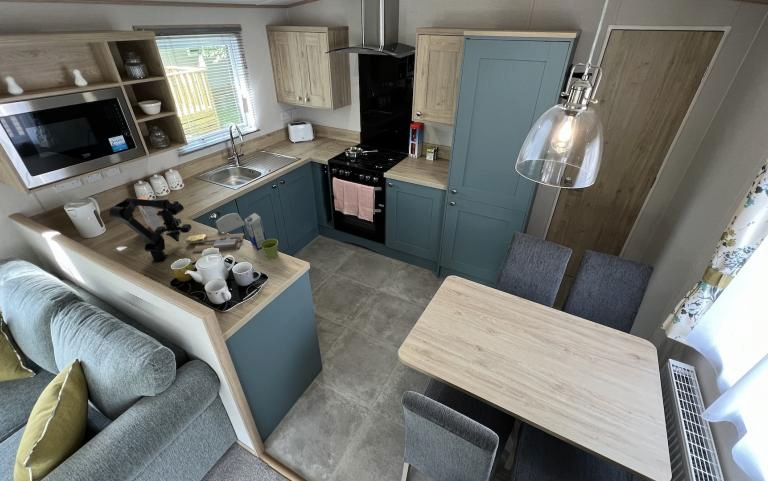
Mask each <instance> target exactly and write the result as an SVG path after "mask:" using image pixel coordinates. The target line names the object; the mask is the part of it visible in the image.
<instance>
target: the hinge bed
mask: <svg viewBox="0 0 768 481" xmlns="http://www.w3.org/2000/svg"><path fill="white" fill-rule="evenodd" d="M206 236H207V235H206ZM244 236H245V233H233V234H232V233H231V234H220V235H209V236H207V238H206V240H204V241H197V242H198V243H196V245H195V247H194V249H193V250H192V254H197V253H198V254H199V253H203V252H202V251H203V250H204V249H207V248H211V247H214V248H219V250H221V251H228V250H238V249H240V247H241V244H242V242H243V240H242V239H244Z"/></svg>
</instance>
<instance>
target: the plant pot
mask: <svg viewBox="0 0 768 481" xmlns="http://www.w3.org/2000/svg"><path fill="white" fill-rule="evenodd" d="M278 245H279V240H278V239H276V238H269V239H267V238H266V240H265V241H263V242H262V243H261V247H262V250H263V251H264V254H265V257H266V258H267V259H268V260H270V259H272V260H273V259H276V258H277V257H278V255H279V252H278Z"/></svg>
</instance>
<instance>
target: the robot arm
mask: <svg viewBox="0 0 768 481" xmlns="http://www.w3.org/2000/svg"><path fill="white" fill-rule="evenodd" d="M138 206H150V207H153V208H155V209H156V210H157V209H158V211H157V216H159V217H161V219H162V221H163V222H162V224H163V226H160V227H157V229H156V230H155V231H150V230H149V229H148V228H147V227H146V226H145V225H143V224H142V223H141V222H140V221H138V220H137V219H136V218H135V217H134V212H135V210H136V207H138ZM184 207H185V206H184V205H182V204H181V203H180V202H179V201H178V200H174V201H173V202H172V203H171V202H170V200H169V199H167V198H166V199H165V198H153V199H148V200H145V199H138V198H136V197H126V198H125V199H124V200H122V201H121V202H119V203H117V204H115V205H114V206H113V207H111V208H110V209H109V217H111V218H113V219H114V220H116V221H119V222H121V223H124V224H125V225H127V226H128V227H129V228H130V229H132V230H133V231H134V232H135V233H136V234H138V235H139V236H141V237H142V238H143V242H144V243H145V245H144V251H145V252H147V253H150V255H151V257H152V259H153V260H152V261H151V262H152V264H153V263H163V262H165V260H166V259H167V258H168V257H169V254H165V252H164V250H165V249H166V244H165V240H166V239H164V236H162V234H163V233H164V232H165V233H166V234H165V235H166V236H168V237H170V238H171V239H173V240H174V241H176V242H178V243H179V242H180V234H181V233H182V234H185V233H186V234H187V233H189V232H190V231H191V229H192V228H193V227H192V225H191V224H190V223H183V224H182V219H181V218H180V217H179V218H176V217H174V216H176V215H178V214H180V213H181V212H183V211H184V209H185V208H184ZM180 224H182V225H180Z"/></svg>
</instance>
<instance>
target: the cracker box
mask: <svg viewBox="0 0 768 481" xmlns="http://www.w3.org/2000/svg"><path fill="white" fill-rule="evenodd" d="M137 199H145V200H149V199H148V198H147V197H146V196H141V197H138V198H137ZM137 207H138V209H139V211H140V213H141V215H142V217H143V219H144V221H145V223H146V226H147V227H148V228H149V229H150V230H152V232H154V231H155V230H156V229H157V227H160V226H164V224H163V222H162V220H161V218H160V216H157V213H158V211H157V209H156V208H153V207H150V206H137Z"/></svg>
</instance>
